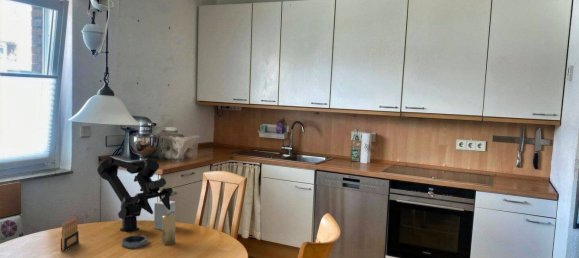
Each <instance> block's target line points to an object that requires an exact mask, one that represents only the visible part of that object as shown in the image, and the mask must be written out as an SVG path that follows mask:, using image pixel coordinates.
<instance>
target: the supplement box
mask: <svg viewBox="0 0 579 258" xmlns="http://www.w3.org/2000/svg"><path fill="white" fill-rule="evenodd" d="M169 201H170V210H168V209H167V208H166V206H165V205H164V204H163V203H162V201H161V200H160V201H157V202H155V203H154V210H153V215H154V216H153V217H154V218H153V219H154V220H153V221H154V222H153V224H154V225H153V228H154V229H157V230H162V216H163V215H164V214H175V215H176V201H173V200H169Z"/></svg>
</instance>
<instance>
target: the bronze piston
mask: <svg viewBox="0 0 579 258" xmlns="http://www.w3.org/2000/svg"><path fill="white" fill-rule="evenodd" d="M176 217H177V216H176V213H175V214H164V215H163V216H162V232H161V233H162V235H161V236H162V237H161V239H162V240H161V241H162V245H163V246H173V245H175V244H176Z"/></svg>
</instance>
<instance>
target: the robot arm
mask: <svg viewBox="0 0 579 258" xmlns="http://www.w3.org/2000/svg"><path fill="white" fill-rule="evenodd" d="M119 168H123V169H125V170H126V172H128V173H129V174H132V175H134V174H136V175H135V176H134V179H133V182H134V183H136V182H137V183H138V185H139V187H140V189H139V191H140V192H138V193H136V194H135V195H133V196H131V195H130V193H129V191H128V190H127V188H126V187H125V185H124V184H123V182H122V181H121V178H120V177H119V176H118V172H119ZM159 168H160V164H159V163H158V162H157V161H155V160H153V159H152V158H147V159H146V160H143V159H137V160H136V159H133V160H132V159H129V158H125V157H122V156H119V155H111V156H109V157H107V159H105V160H104V161H103V162H101V163H100V165H98V167H97V173H98V175H99V176H100V177H101V178H102V179H103V180H105V181H107V182H108V184H109V185H110V187H111V188H112V190H113V191H114V193H115V194H116V196H117V198H118V200H119V201H120V210H119V211H118V213H117V215H118V219H122V220H121V221H122V224H121V225H122V227H120V228H119V231H122V232H127V233H131V232H134V231H137V230H139V229H140V227H138V220H137V217H141V212H142V209H143V210H145V211H146V212H147V213H149V214H150V215H154V210H153V208H152V206H151V205H150V202H149V200H151V199H154V198H155V199H156V198H159V199H160V201H162V203H163V204H164V205H165V206H166V208H167V209H168V210H170V201H171V200H170V197H171V196H172V194H173V193H174V190H173V188H172V187H171V186H169V187H165V185H166V184H167V181H166V179H165V178H164V177H162V178H159V179H157V180H152V177H154V175H155V174H156V173H157V171H158V170H159ZM163 187H164V188H163ZM161 188H163V189H162V190H161Z"/></svg>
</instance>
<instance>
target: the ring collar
mask: <svg viewBox="0 0 579 258" xmlns="http://www.w3.org/2000/svg"><path fill="white" fill-rule="evenodd" d="M147 245H149V241H148V236H145V235H141V234H138V235H137V234H136V235H129V236H125V237H123V239H122V241H121V248H124V249H128V250H129V249H132V250H133V249H139V248H140V249H141V248H144V247H146V246H147Z"/></svg>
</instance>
